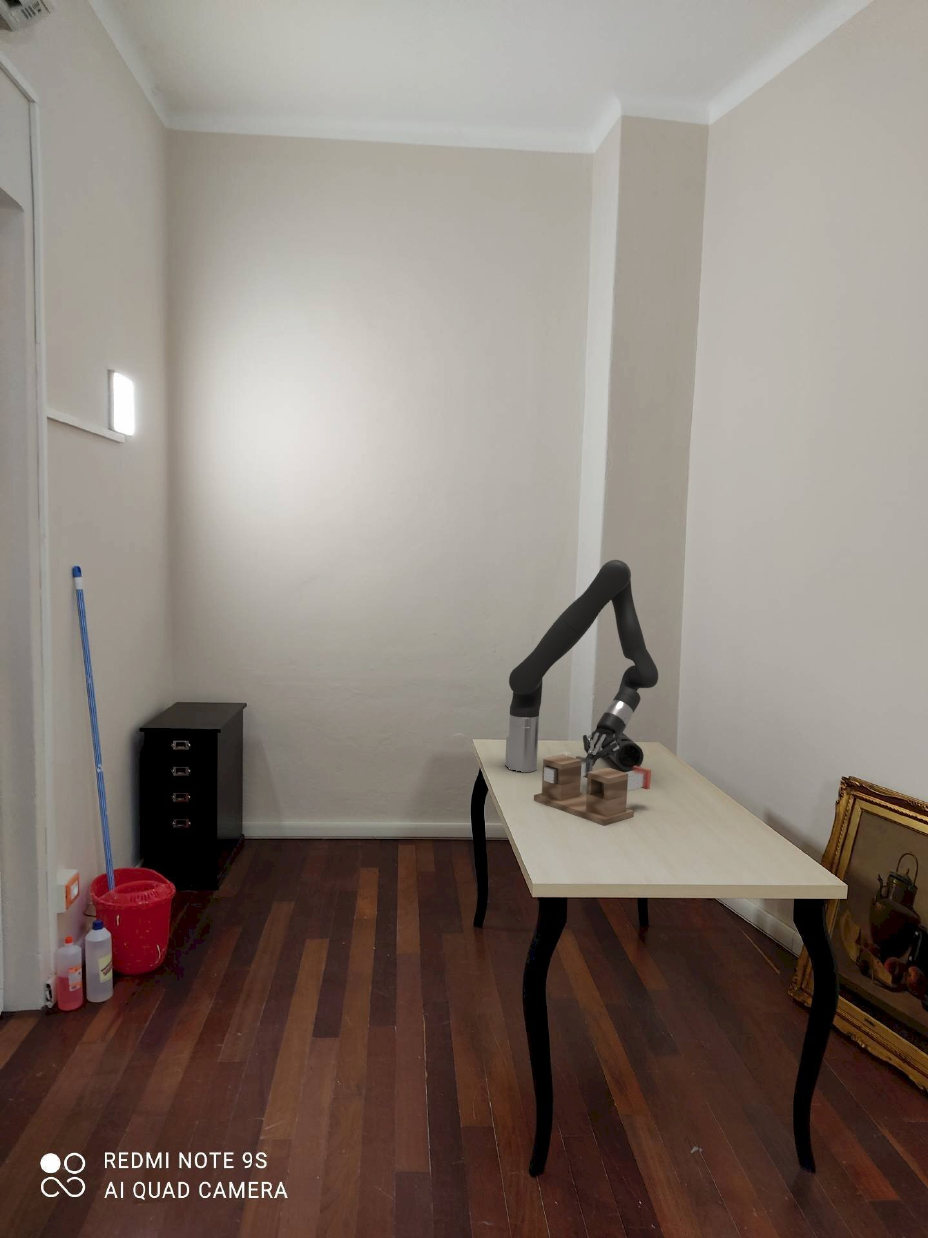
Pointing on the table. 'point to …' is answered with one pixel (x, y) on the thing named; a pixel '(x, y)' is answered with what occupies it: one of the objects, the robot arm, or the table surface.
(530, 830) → the table surface
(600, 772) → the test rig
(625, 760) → the muzzle brake
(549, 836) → the table surface
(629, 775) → the red plug
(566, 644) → the robot arm
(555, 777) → the charcoal plug
